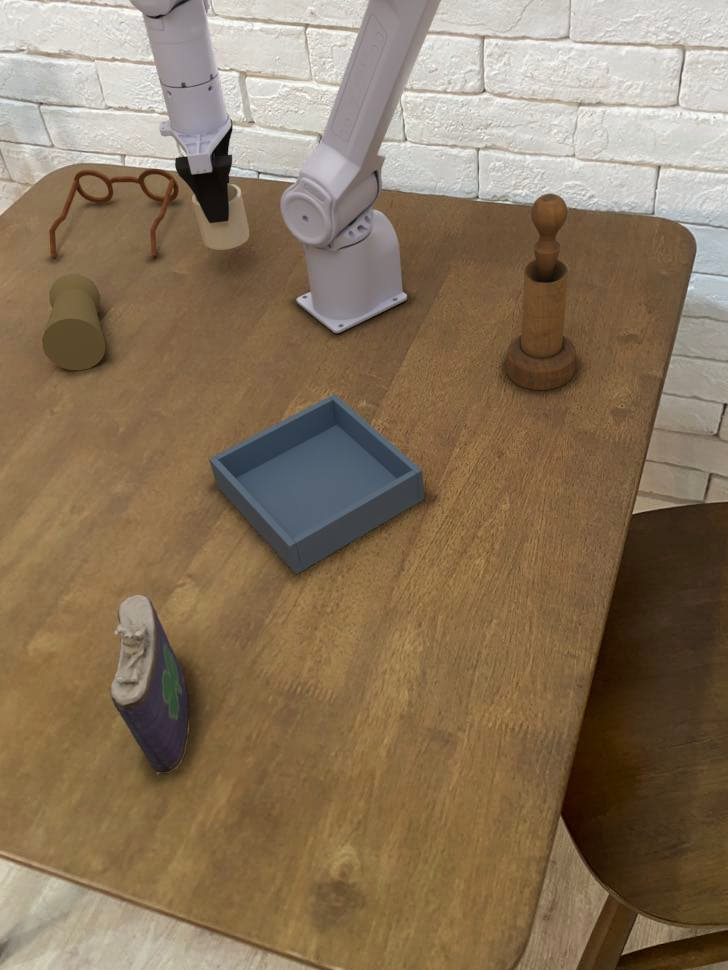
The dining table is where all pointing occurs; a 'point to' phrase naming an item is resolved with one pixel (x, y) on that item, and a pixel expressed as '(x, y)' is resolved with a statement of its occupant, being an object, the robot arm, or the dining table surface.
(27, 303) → the dining table surface
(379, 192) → the robot arm
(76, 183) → the glasses
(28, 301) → the dining table surface
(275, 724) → the dining table surface
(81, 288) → the pepper mill
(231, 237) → the cream cup
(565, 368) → the mortar and pestle
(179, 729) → the flask
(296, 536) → the tray
